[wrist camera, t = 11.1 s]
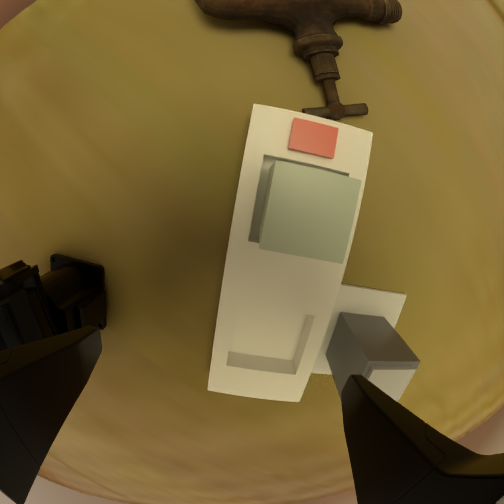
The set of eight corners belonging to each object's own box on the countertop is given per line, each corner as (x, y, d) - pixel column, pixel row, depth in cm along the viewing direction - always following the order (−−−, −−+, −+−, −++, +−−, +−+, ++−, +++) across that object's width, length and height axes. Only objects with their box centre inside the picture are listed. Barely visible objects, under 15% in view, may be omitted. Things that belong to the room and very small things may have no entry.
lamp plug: (258, 228, 19) (259, 248, 14) (270, 167, 18) (275, 160, 12) (318, 239, 19) (342, 264, 14) (331, 180, 18) (361, 180, 13)
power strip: (295, 380, 24) (299, 407, 20) (212, 369, 24) (206, 395, 20) (357, 138, 18) (377, 131, 15) (254, 114, 18) (253, 100, 15)
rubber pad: (302, 369, 24) (302, 372, 23) (330, 281, 21) (331, 283, 21) (371, 373, 24) (372, 375, 23) (404, 293, 21) (406, 295, 21)
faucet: (367, -15, 14) (410, 117, 19) (190, -7, 14) (225, 140, 20) (387, -36, 10) (442, 114, 15) (182, -35, 10) (222, 137, 15)
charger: (325, 354, 23) (345, 412, 15) (340, 311, 22) (370, 364, 14) (367, 357, 23) (395, 410, 16) (384, 316, 22) (422, 364, 14)
